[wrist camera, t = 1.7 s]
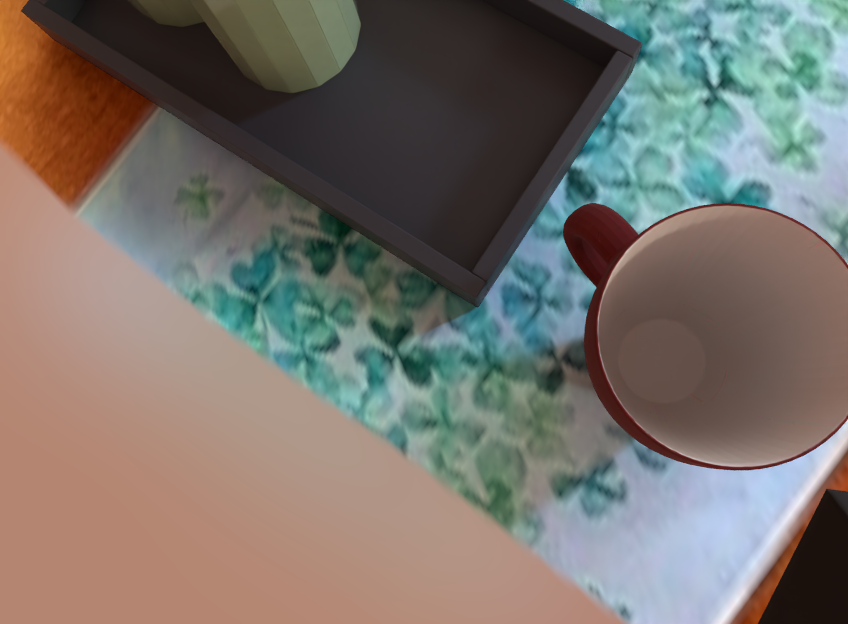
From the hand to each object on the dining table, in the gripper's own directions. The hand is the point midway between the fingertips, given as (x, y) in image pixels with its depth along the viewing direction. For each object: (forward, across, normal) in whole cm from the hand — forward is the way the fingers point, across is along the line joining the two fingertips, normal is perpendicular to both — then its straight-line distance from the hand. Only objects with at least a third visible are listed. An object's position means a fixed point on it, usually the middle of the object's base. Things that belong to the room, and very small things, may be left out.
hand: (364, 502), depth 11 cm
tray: (+29, -4, +2) cm, 29 cm away
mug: (+20, +12, -6) cm, 24 cm away
